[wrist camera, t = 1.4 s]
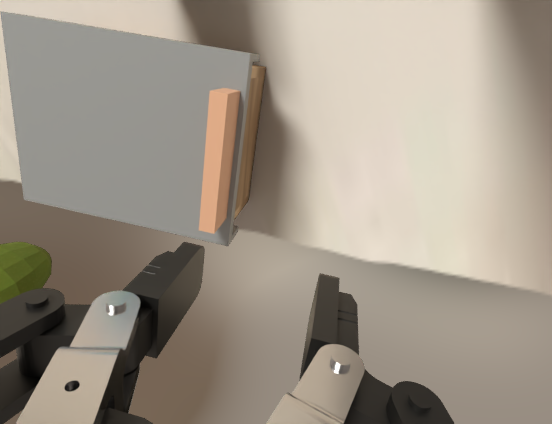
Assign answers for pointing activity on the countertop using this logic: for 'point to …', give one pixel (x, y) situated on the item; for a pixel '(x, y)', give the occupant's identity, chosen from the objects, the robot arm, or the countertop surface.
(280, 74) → the countertop surface
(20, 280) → the green faceted ovoid
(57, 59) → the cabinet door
